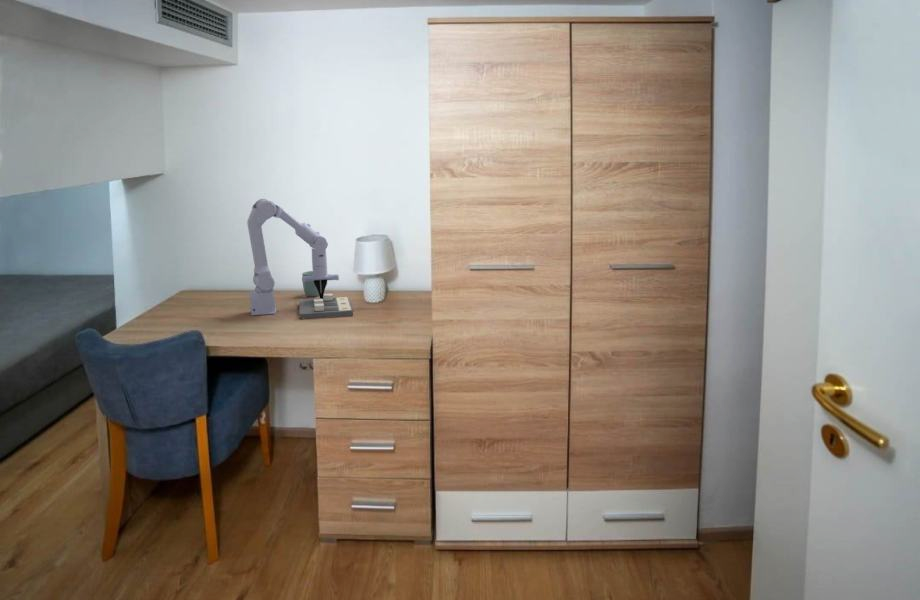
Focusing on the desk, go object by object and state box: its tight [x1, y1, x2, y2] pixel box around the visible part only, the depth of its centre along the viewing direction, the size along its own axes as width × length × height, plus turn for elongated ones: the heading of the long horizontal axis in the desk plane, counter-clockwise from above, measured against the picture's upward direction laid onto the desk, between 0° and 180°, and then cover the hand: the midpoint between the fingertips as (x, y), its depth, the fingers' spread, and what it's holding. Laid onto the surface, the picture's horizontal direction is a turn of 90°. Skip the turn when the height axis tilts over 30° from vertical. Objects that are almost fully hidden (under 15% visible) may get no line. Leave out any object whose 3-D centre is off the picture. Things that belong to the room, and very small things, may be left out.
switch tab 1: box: [313, 298, 323, 304], centre depth 320 cm, size 4×4×2 cm
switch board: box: [298, 296, 354, 320], centre depth 321 cm, size 20×24×2 cm
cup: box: [301, 270, 321, 298], centre depth 344 cm, size 8×8×10 cm
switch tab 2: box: [323, 293, 334, 301], centre depth 328 cm, size 4×4×2 cm
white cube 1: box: [314, 303, 324, 311], centre depth 312 cm, size 4×4×2 cm
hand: (321, 298), depth 328 cm, fingers closed
